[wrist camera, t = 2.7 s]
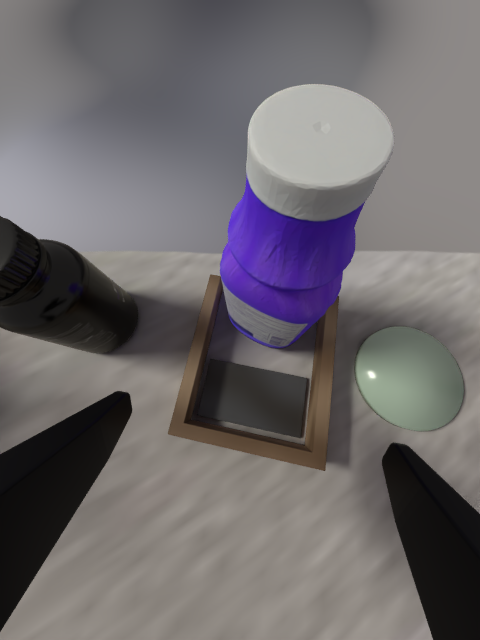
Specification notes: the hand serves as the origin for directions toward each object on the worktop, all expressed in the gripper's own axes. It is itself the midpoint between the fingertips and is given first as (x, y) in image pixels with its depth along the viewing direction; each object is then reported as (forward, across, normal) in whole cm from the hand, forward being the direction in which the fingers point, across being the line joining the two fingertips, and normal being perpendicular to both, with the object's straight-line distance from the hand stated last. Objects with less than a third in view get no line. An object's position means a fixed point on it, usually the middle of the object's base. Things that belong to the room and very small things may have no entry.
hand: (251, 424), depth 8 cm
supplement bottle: (+13, +16, +5) cm, 21 cm away
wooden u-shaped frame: (+12, 0, +6) cm, 14 cm away
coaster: (+13, -13, +6) cm, 20 cm away
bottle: (+15, 0, +3) cm, 16 cm away
